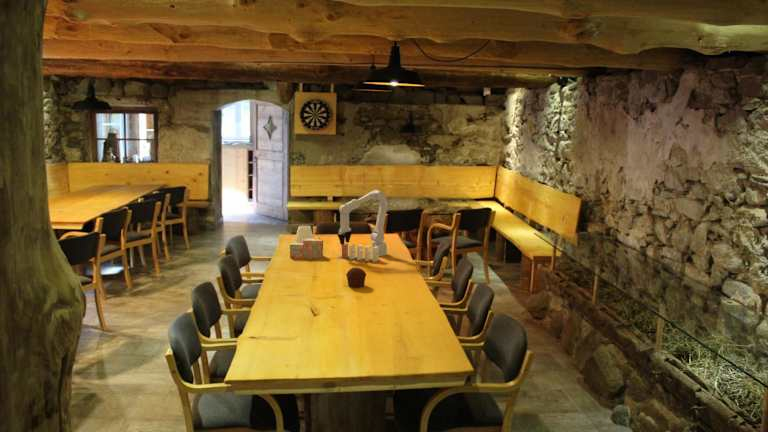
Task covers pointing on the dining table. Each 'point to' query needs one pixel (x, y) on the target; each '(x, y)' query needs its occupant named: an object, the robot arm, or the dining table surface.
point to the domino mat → (356, 259)
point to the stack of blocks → (307, 249)
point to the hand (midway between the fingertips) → (344, 243)
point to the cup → (303, 234)
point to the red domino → (345, 250)
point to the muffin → (356, 278)
